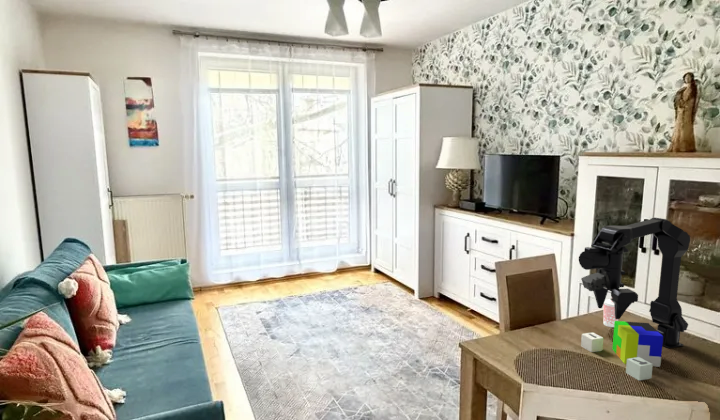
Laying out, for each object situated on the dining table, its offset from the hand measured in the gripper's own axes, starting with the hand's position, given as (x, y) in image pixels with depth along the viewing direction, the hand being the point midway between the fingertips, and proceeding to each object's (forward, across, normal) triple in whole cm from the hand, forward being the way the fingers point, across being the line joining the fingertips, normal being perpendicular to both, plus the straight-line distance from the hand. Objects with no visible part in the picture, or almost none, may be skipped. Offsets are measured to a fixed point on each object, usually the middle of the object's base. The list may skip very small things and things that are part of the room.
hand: (608, 313), depth 137 cm
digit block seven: (+14, +13, +2) cm, 19 cm away
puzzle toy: (+14, +2, +8) cm, 17 cm away
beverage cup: (+14, -23, +16) cm, 31 cm away
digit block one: (+14, -4, -2) cm, 15 cm away
